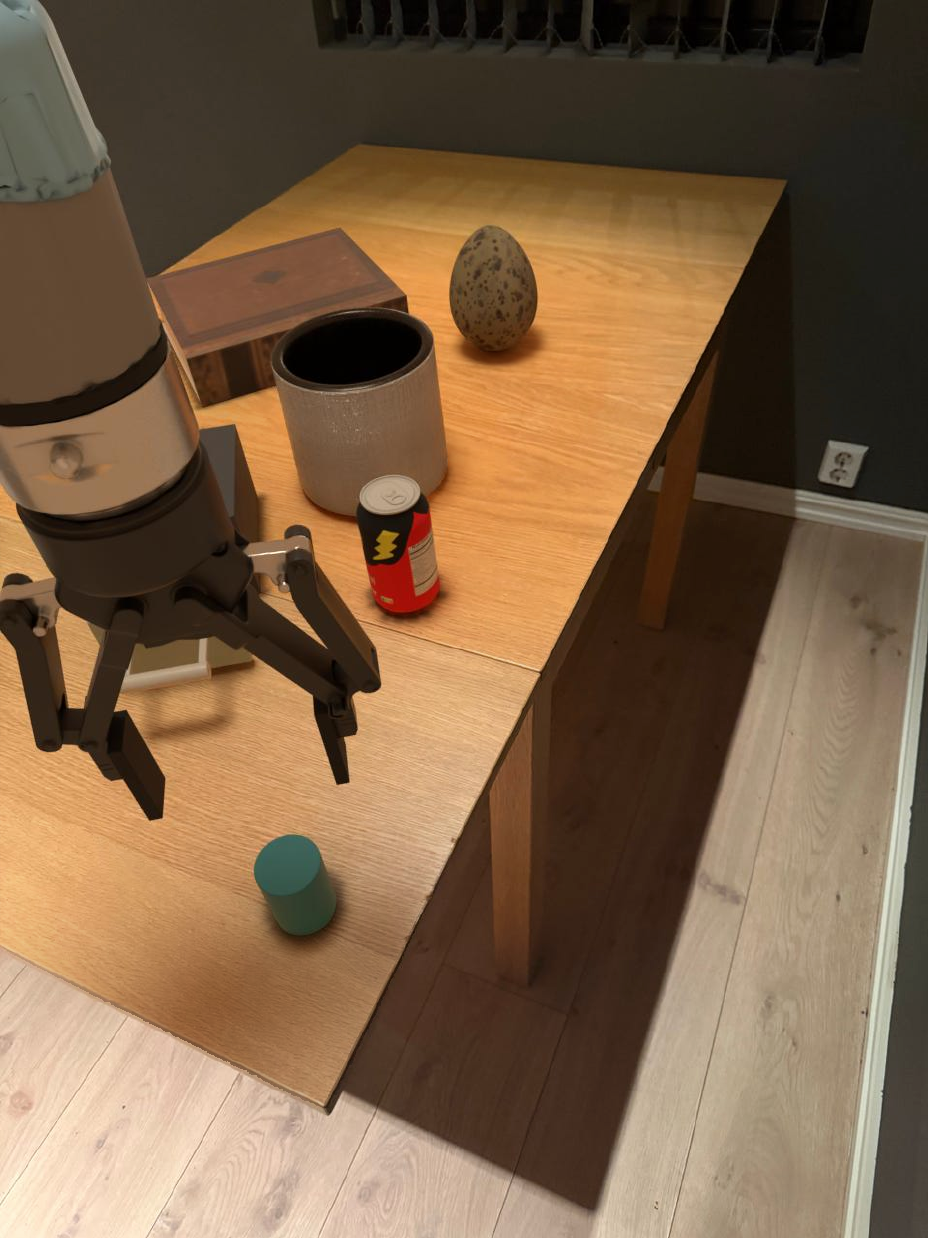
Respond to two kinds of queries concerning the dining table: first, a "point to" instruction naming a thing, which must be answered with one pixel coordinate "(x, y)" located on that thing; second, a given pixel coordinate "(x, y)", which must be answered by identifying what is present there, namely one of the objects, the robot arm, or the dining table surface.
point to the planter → (360, 403)
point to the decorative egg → (493, 290)
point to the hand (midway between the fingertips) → (250, 781)
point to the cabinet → (234, 482)
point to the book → (262, 306)
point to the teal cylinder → (295, 884)
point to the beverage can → (398, 543)
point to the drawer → (175, 662)
